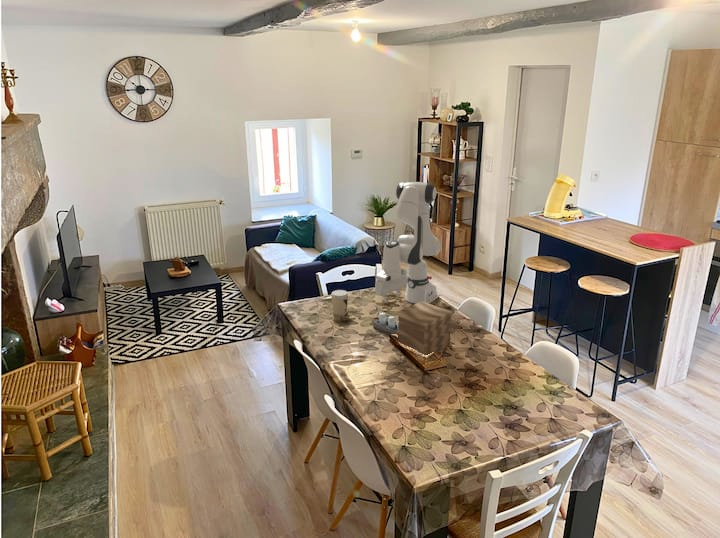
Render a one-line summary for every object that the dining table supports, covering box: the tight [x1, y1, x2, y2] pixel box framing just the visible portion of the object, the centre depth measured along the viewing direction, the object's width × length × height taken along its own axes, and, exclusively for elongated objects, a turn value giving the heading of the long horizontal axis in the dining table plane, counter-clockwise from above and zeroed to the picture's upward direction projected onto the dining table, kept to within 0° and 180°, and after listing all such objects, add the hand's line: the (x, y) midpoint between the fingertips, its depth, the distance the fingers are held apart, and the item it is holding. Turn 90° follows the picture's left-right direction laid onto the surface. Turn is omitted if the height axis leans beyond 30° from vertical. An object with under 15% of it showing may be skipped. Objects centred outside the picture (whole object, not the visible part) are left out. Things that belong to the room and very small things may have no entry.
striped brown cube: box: [395, 301, 453, 355], centre depth 268 cm, size 19×19×18 cm
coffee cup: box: [330, 289, 349, 316], centre depth 307 cm, size 9×9×12 cm
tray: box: [373, 311, 398, 335], centre depth 284 cm, size 6×20×8 cm, turn 43°
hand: (391, 298), depth 279 cm, fingers open, 8 cm apart
